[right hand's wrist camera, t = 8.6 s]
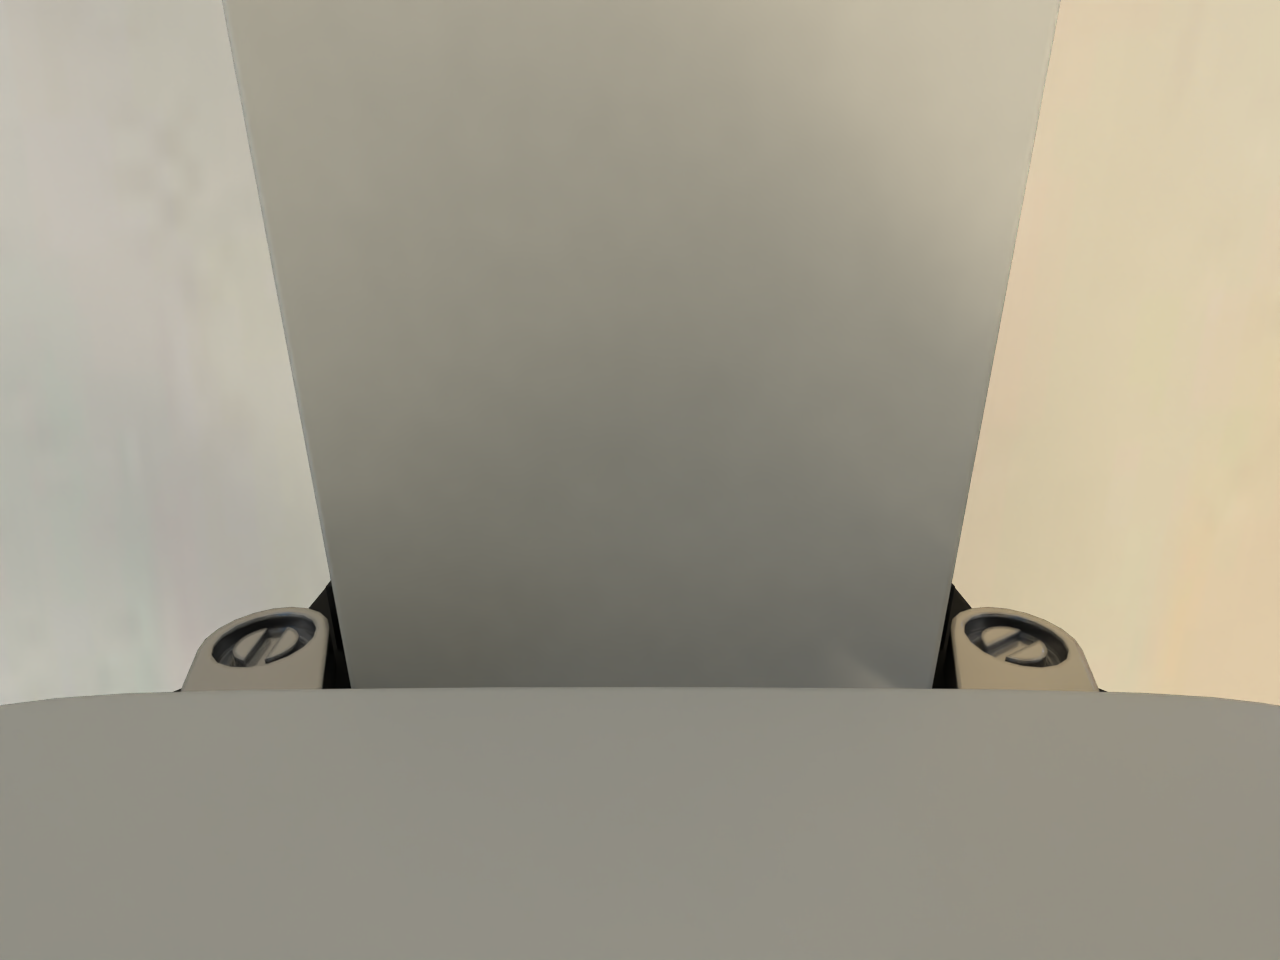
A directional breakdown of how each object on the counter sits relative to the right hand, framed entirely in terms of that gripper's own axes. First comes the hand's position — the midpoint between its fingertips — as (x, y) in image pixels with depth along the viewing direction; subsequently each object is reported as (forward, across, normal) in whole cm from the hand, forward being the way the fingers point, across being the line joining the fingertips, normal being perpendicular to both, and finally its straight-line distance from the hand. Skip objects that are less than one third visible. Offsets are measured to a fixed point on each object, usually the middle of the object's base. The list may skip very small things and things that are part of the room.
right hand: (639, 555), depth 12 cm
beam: (+2, 0, -24) cm, 24 cm away
